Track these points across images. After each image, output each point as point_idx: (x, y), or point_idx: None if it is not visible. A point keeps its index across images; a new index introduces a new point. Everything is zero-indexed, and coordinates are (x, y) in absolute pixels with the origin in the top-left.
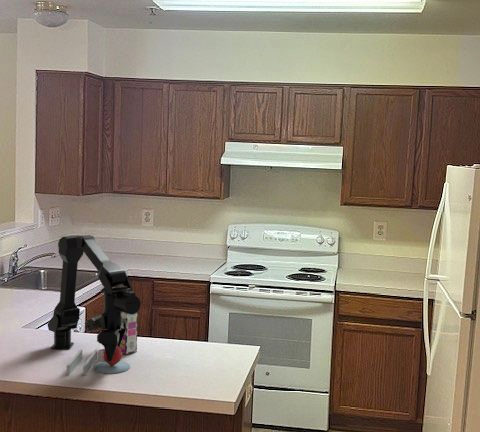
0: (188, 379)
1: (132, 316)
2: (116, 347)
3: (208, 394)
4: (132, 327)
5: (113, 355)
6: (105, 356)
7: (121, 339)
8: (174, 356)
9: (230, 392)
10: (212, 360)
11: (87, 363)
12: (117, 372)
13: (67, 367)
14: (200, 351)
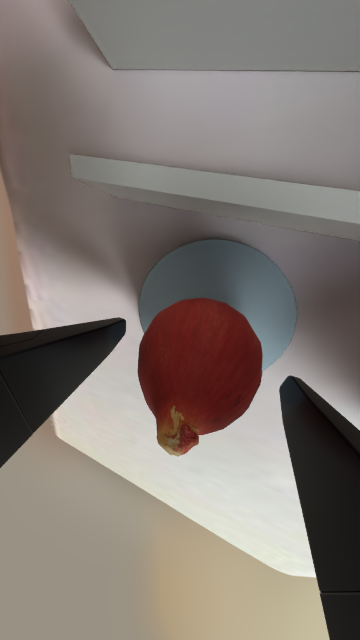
0: (118, 437)
1: None
2: (42, 415)
3: (67, 428)
4: None
5: (102, 358)
6: (159, 313)
7: (308, 530)
8: (276, 488)
9: (80, 448)
10: (219, 506)
11: (117, 182)
12: (145, 331)
13: None
14: (296, 532)
